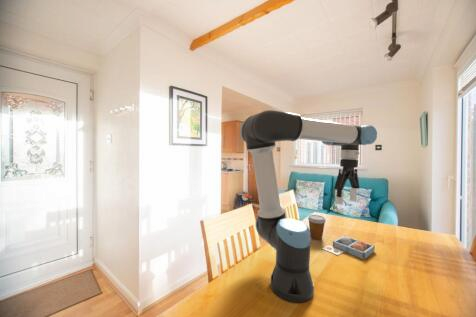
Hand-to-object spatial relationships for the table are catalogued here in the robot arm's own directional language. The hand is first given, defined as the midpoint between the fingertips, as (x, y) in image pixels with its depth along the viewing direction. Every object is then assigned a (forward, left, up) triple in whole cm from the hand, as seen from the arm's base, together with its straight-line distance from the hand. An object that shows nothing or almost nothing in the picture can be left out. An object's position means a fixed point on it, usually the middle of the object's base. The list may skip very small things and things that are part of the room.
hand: (346, 202), depth 98 cm
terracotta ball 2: (+9, -4, -25) cm, 27 cm away
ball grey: (+8, +3, -25) cm, 27 cm away
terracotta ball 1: (+5, -4, -25) cm, 26 cm away
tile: (-2, +5, -25) cm, 26 cm away
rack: (+8, -1, -25) cm, 26 cm away
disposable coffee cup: (+5, +18, -25) cm, 32 cm away
